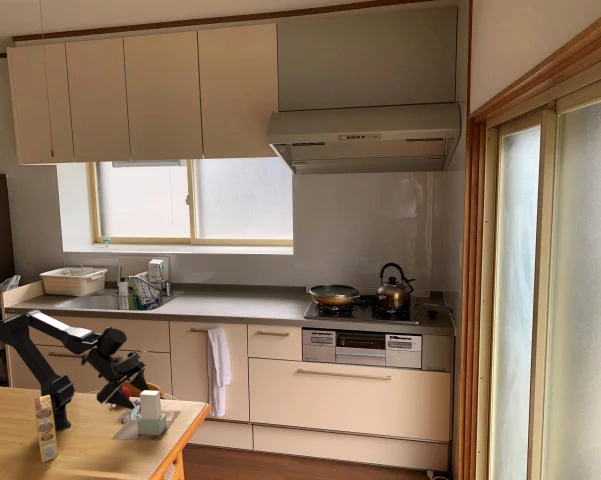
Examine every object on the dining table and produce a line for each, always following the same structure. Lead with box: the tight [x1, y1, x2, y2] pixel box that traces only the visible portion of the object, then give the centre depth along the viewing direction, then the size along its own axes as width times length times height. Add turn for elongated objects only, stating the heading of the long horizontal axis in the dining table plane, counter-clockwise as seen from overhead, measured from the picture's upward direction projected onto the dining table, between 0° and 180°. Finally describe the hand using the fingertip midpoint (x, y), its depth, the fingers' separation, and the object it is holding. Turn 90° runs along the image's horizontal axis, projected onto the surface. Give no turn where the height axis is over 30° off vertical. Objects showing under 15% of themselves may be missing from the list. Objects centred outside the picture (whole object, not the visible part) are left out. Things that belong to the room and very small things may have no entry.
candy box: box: [33, 395, 59, 463], centre depth 127 cm, size 9×4×15 cm, turn 33°
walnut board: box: [111, 410, 181, 441], centre depth 139 cm, size 15×16×1 cm
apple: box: [108, 386, 131, 410], centre depth 154 cm, size 8×8×6 cm
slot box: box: [137, 414, 167, 435], centre depth 136 cm, size 7×5×4 cm, turn 80°
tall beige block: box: [139, 390, 162, 421], centre depth 135 cm, size 5×3×12 cm, turn 80°
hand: (142, 400), depth 135 cm, fingers open, 9 cm apart
